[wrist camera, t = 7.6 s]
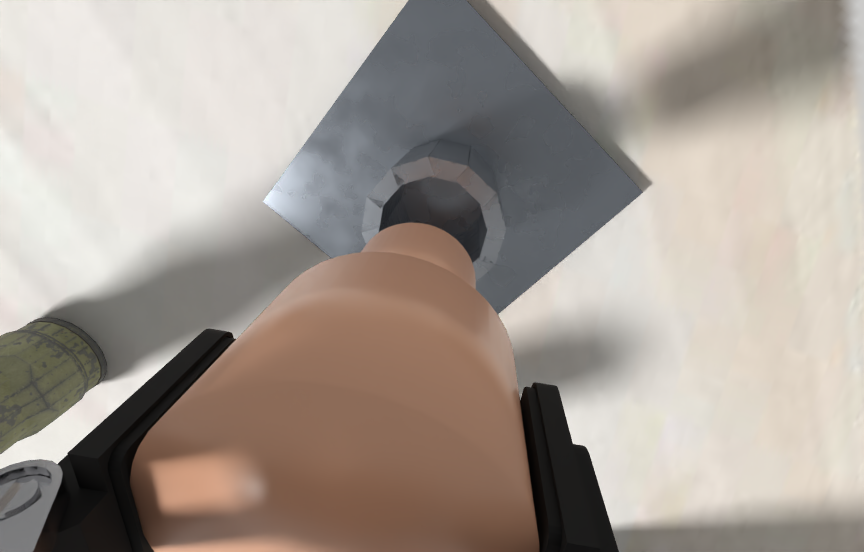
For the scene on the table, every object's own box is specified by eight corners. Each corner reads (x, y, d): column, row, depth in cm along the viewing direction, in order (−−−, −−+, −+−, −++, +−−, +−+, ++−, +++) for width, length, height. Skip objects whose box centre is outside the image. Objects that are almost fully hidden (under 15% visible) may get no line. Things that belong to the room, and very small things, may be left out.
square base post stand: (637, 189, 30) (697, 227, 22) (449, 348, 37) (441, 421, 29) (435, -31, 26) (416, -85, 18) (268, 198, 33) (200, 234, 25)
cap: (540, 280, 17) (633, 567, 7) (422, 379, 19) (363, 689, 9) (406, 154, 15) (268, 283, 5) (298, 280, 18) (70, 526, 8)
